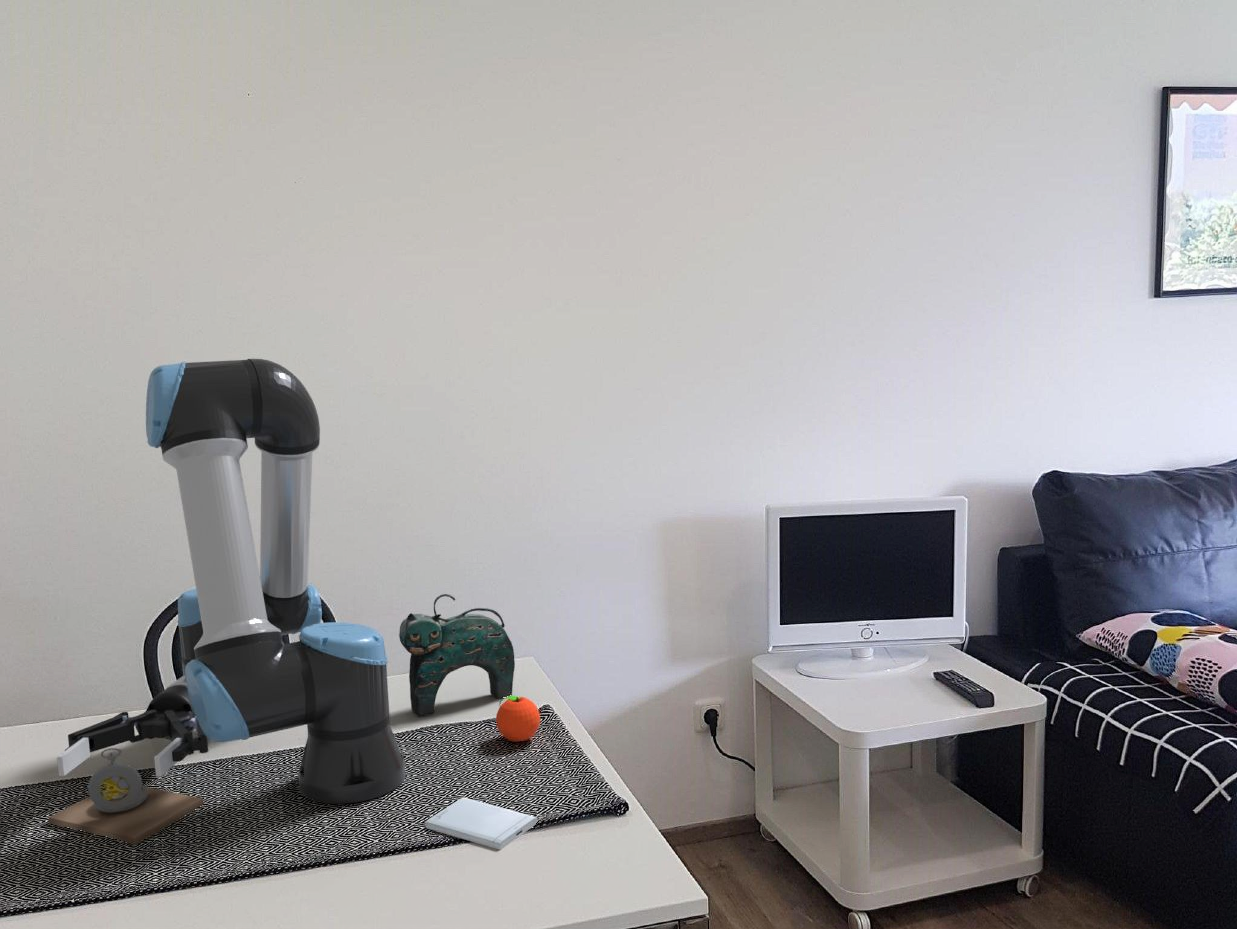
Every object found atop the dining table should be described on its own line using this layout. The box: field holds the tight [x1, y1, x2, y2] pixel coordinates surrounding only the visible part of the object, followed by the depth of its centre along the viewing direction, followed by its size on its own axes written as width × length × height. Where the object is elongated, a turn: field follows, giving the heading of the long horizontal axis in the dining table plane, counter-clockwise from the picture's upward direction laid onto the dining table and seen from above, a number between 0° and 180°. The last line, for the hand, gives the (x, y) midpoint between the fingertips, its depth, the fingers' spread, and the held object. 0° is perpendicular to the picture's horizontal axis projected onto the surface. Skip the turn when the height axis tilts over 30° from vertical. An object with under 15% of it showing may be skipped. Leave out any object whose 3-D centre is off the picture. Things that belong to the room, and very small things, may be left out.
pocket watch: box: [87, 747, 147, 813], centre depth 153 cm, size 8×8×10 cm
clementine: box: [495, 695, 541, 743], centre depth 176 cm, size 8×7×7 cm
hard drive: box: [425, 797, 539, 851], centre depth 148 cm, size 2×8×12 cm
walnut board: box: [47, 785, 204, 846], centre depth 154 cm, size 16×12×1 cm
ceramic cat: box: [398, 593, 516, 718], centre depth 191 cm, size 20×6×20 cm, turn 119°
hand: (108, 766), depth 150 cm, fingers open, 13 cm apart
